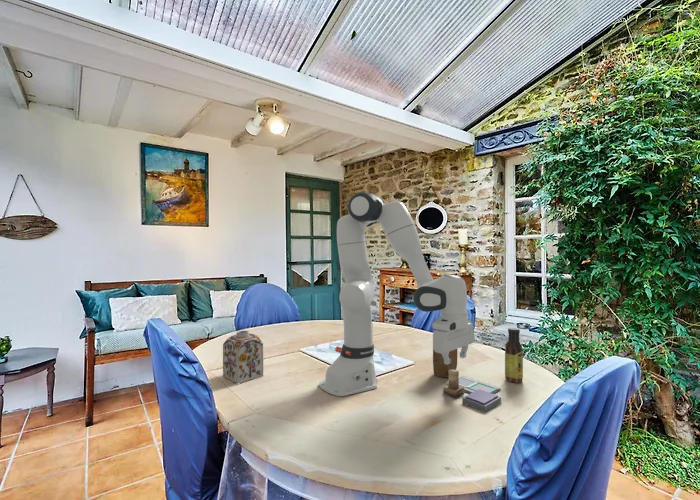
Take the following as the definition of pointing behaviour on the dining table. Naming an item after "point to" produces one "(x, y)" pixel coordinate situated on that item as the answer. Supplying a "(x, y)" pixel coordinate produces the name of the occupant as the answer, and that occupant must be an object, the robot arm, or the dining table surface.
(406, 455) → the dining table surface
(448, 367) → the block
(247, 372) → the decorative jar
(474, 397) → the ink pad
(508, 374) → the sauce bottle
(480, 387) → the board
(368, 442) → the dining table surface
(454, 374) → the stamp
